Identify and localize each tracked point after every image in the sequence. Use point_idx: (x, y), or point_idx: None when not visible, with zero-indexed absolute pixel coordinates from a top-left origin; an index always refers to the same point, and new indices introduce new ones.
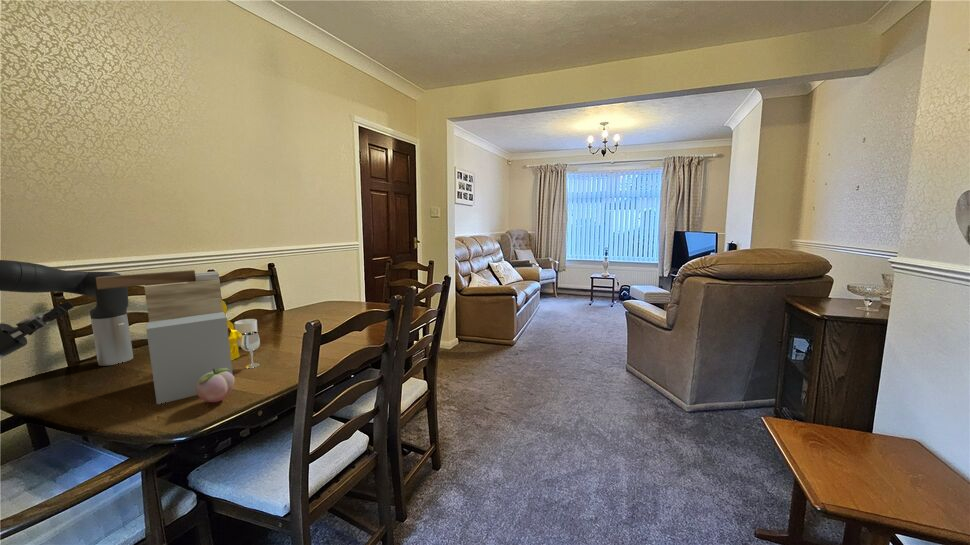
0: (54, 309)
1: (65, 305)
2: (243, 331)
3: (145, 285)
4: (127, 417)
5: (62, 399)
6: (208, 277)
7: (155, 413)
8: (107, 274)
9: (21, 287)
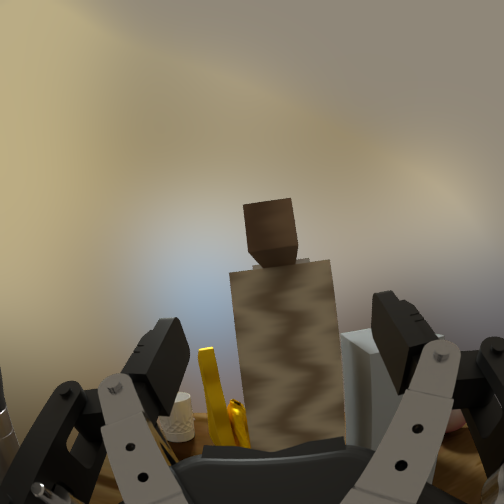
0: (400, 302)
1: (177, 342)
2: (187, 413)
3: (301, 263)
4: (472, 497)
5: None
6: None
7: (467, 472)
8: None
9: None
